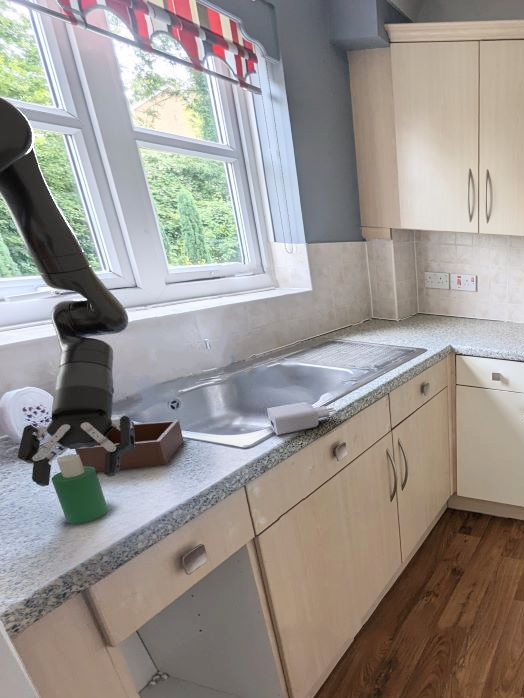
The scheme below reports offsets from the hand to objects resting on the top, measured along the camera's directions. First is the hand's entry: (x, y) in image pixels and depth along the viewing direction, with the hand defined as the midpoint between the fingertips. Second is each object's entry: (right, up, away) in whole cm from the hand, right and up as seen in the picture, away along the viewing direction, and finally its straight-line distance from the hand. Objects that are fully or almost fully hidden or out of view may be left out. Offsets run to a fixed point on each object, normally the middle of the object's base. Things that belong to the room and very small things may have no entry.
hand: (76, 480), depth 75 cm
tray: (-9, +1, +22) cm, 24 cm away
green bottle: (0, -6, +2) cm, 7 cm away
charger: (+17, +7, +42) cm, 46 cm away
